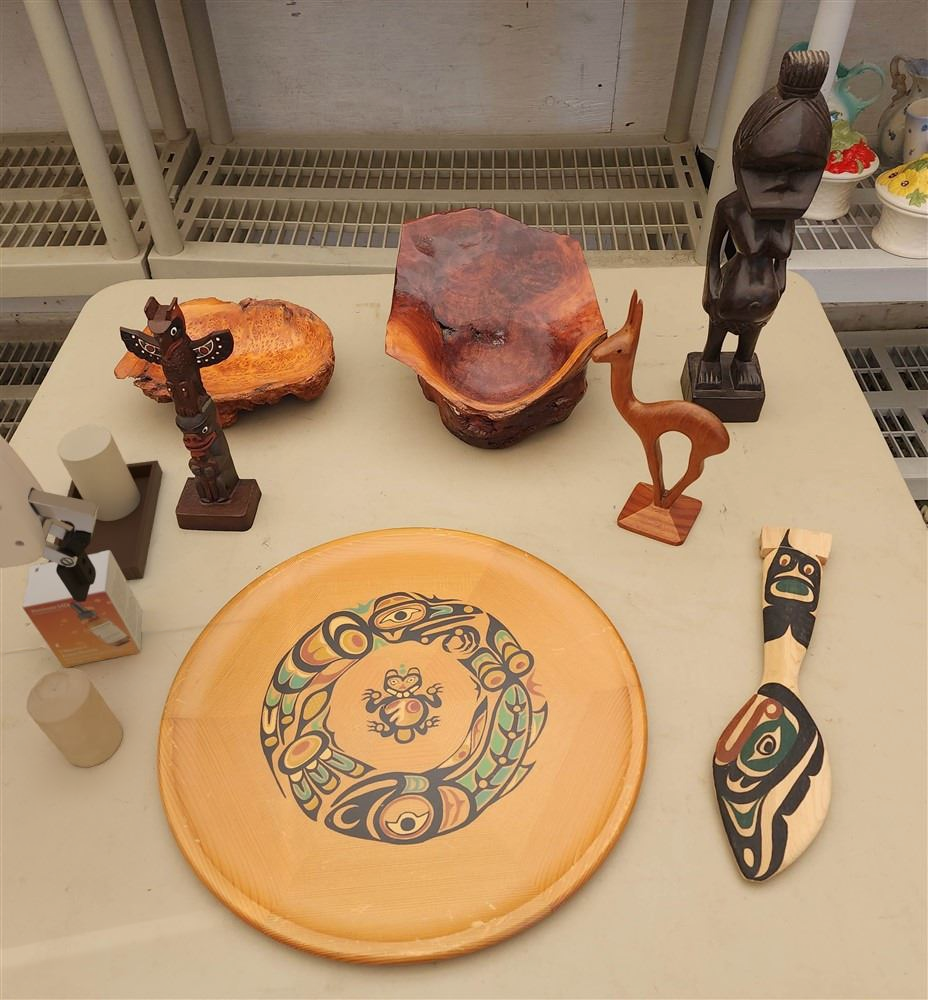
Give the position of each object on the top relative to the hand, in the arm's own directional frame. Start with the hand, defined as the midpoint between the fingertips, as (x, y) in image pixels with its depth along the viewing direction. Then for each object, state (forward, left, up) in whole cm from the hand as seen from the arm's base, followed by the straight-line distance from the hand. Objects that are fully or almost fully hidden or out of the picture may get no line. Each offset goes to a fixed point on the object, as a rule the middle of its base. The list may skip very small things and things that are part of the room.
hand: (23, 594), depth 67 cm
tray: (-6, +28, -23) cm, 36 cm away
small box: (-4, +12, -23) cm, 26 cm away
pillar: (-6, +32, -22) cm, 39 cm away
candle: (-3, 0, -23) cm, 23 cm away
